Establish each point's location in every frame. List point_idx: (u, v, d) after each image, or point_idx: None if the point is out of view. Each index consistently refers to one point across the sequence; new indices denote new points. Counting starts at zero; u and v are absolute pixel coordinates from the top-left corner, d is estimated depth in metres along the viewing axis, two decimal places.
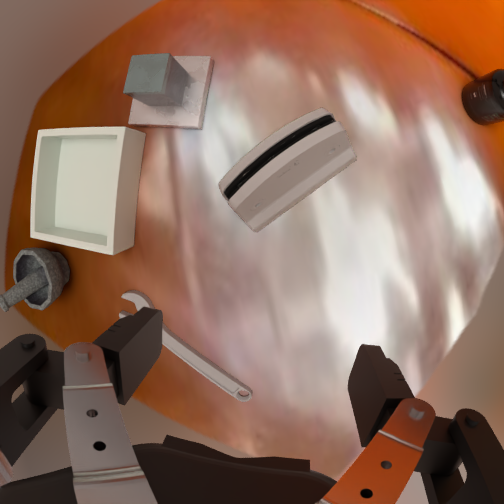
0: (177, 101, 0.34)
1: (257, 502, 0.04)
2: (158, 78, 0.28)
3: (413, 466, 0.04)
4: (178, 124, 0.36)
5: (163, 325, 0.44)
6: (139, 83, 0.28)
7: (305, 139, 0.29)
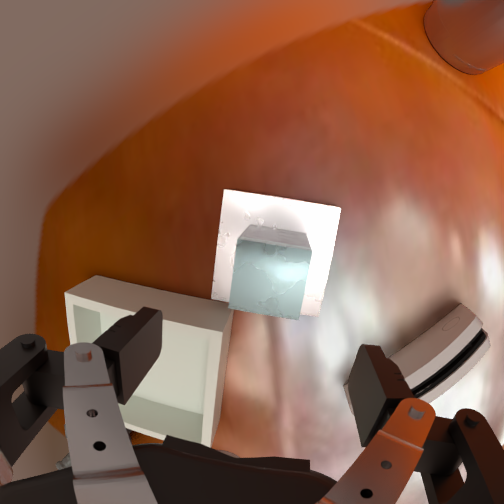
0: None
1: (257, 502, 0.04)
2: (293, 296, 0.20)
3: (413, 466, 0.04)
4: None
5: None
6: (258, 298, 0.20)
7: (458, 371, 0.21)
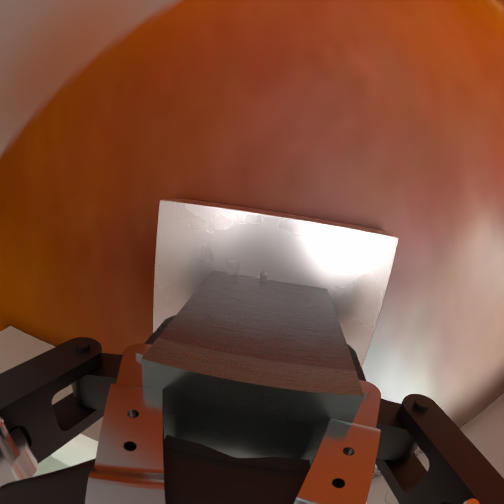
0: None
1: (257, 502, 0.04)
2: None
3: (375, 448, 0.05)
4: None
5: None
6: None
7: None
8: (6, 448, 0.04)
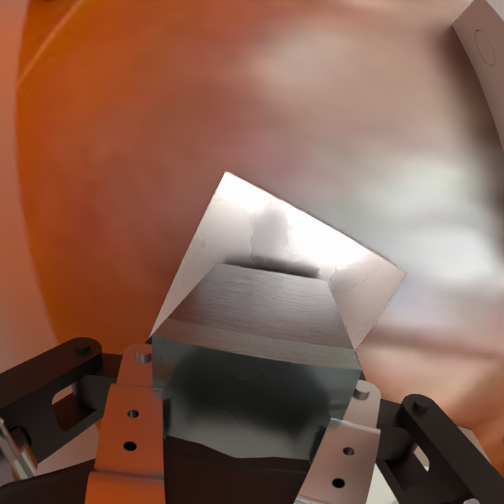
0: None
1: (257, 502, 0.04)
2: (302, 457, 0.07)
3: (375, 448, 0.05)
4: (377, 315, 0.14)
5: None
6: None
7: None
8: (6, 449, 0.04)
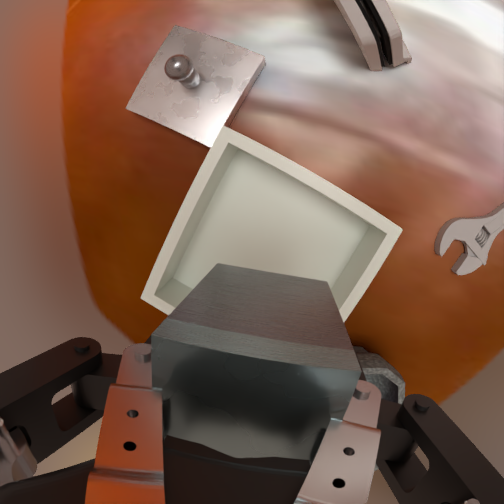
0: None
1: (257, 502, 0.04)
2: (301, 458, 0.07)
3: (376, 448, 0.05)
4: (249, 77, 0.24)
5: (485, 216, 0.26)
6: None
7: None
8: (6, 449, 0.04)
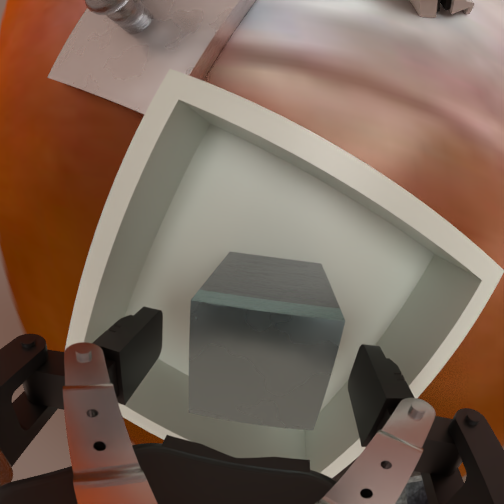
0: None
1: (257, 502, 0.04)
2: (306, 398, 0.10)
3: (413, 466, 0.04)
4: (230, 7, 0.12)
5: None
6: (240, 401, 0.10)
7: None
8: None
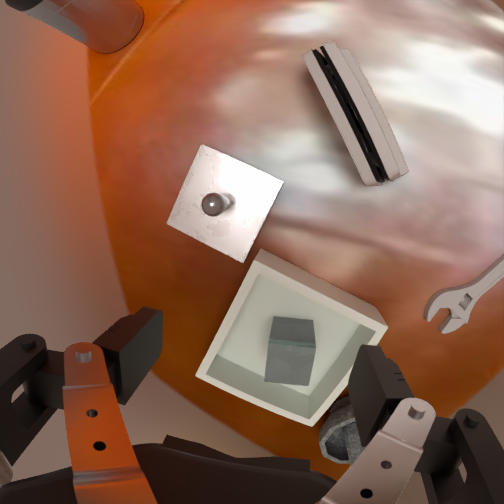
0: None
1: (257, 502, 0.04)
2: (305, 373, 0.30)
3: (413, 466, 0.04)
4: (271, 202, 0.33)
5: (468, 284, 0.33)
6: (283, 375, 0.30)
7: (342, 75, 0.23)
8: None
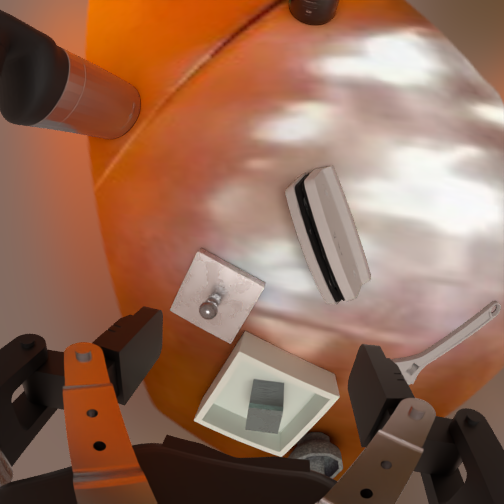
0: None
1: (257, 502, 0.04)
2: (275, 426, 0.39)
3: (413, 466, 0.04)
4: (254, 302, 0.41)
5: (417, 355, 0.42)
6: (259, 426, 0.39)
7: (317, 222, 0.32)
8: None
